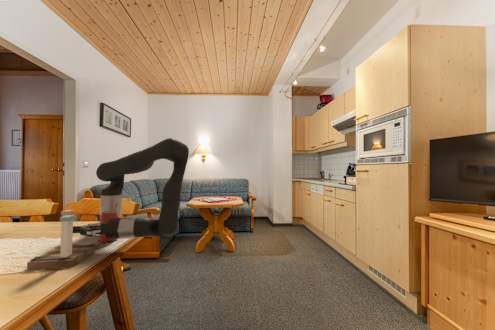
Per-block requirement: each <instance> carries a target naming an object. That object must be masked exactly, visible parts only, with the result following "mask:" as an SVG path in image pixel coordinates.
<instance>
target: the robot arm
mask: <svg viewBox="0 0 495 330" xmlns="http://www.w3.org/2000/svg"><path fill="white" fill-rule="evenodd" d="M189 155H190V150H189V146H188V145H187V144H185V143H183V142H182V141H180V140H178V139H176V138H172V137H168V138H165V139H163V140H161V141H159V142H157V143H155V144H154V145H151V146H150V147H147V148H144V149H143V150H139V151H136V152H133V153H131V154H128V155H127V156H124V157H120V158H118V159H116V160H112V161H107V162H103V163H100V164H99V166H98V167H97V169H96V172H95V174H96V177H97V178H98V179H99V181H102V182H110V183H109V185H108V186H107V187H104V188H102V189H100V190H101V191H100V207H99V209H100V210H99V218H100V217H101V214H102V212H104V211H114V210H116V211H117V214H118V218H110V219H109V220H108V221H107V224H105V222H101V223H100V222H95V223H89V224H88V223H87V224H84V225H75V226H74V225H73V234H79V236H85V237H87V238H90V237H93V236H99V237H100V235H102V234H105V235H106V237H107V239H116V240H118V239H119V240H121V239H131V238H133V239H134V238H146V237H172V236H175V235H176V234H177V232H179V228H180V225H179V221H178V220H179V219H178V218H179V209H180V207H181V196H182V194H181V193H182V185H183V180H184V177H185V172H186V169H187V163H188V160H189ZM159 160H168V161H169V162H173V170H172V174H171V175H170V177H169V178H168V180H167V181H166V183H165V184H164V186H163V188H162V189H163V190H162V196H161V208H160V211H159V212H160V213H159V217H158V218H151V217H122V207H123V206H122V204H123V203H122V198H123V196H122V195H123V191H124V185H125V175H133V174H139V173H142V172H146V171H148V170H150V169H151V168H152V167H153V165H154V163H155V161H159ZM117 202H118V204H119V205H118V204H117ZM115 204H117V206H116V209H115Z"/></svg>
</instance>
